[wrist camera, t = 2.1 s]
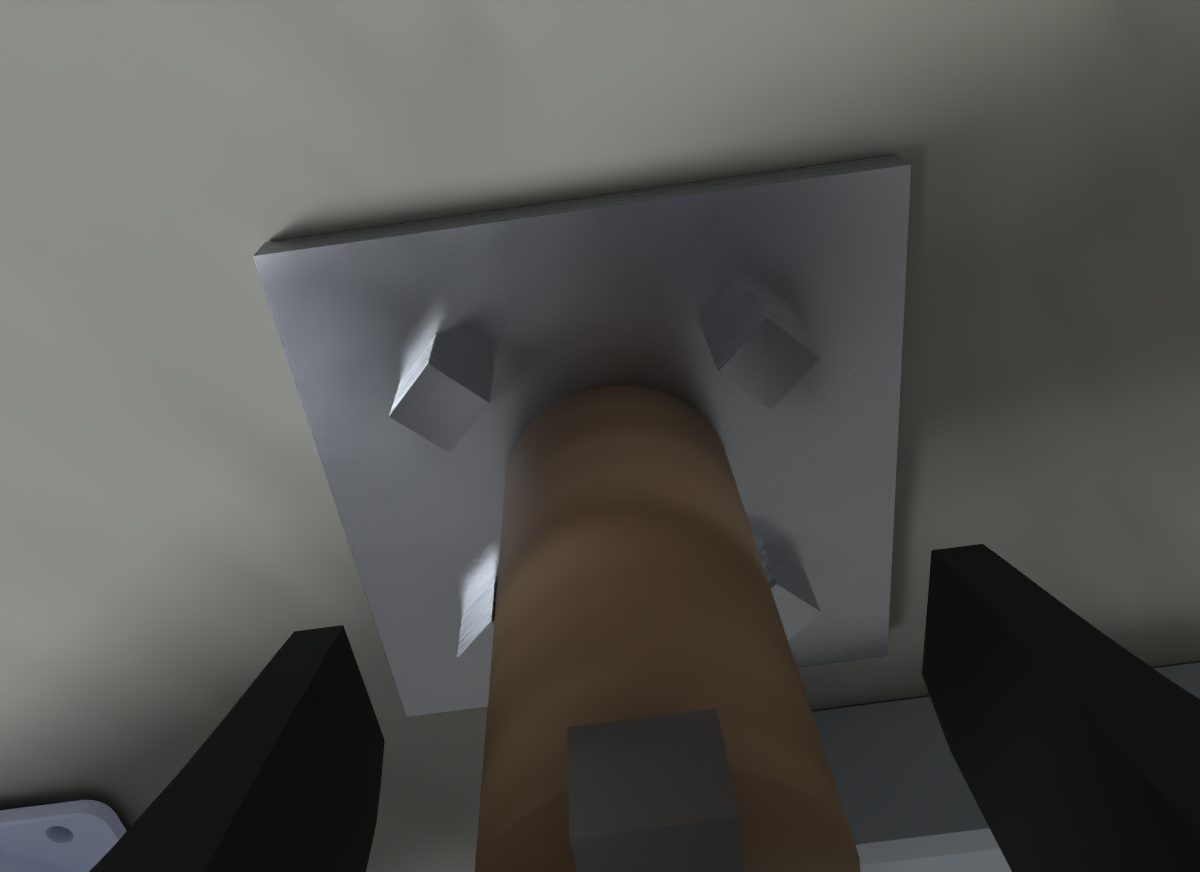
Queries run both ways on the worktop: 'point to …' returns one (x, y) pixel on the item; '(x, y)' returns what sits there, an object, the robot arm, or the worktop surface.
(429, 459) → the plate
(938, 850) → the bin
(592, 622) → the brown wooden cylinder
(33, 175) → the worktop surface
